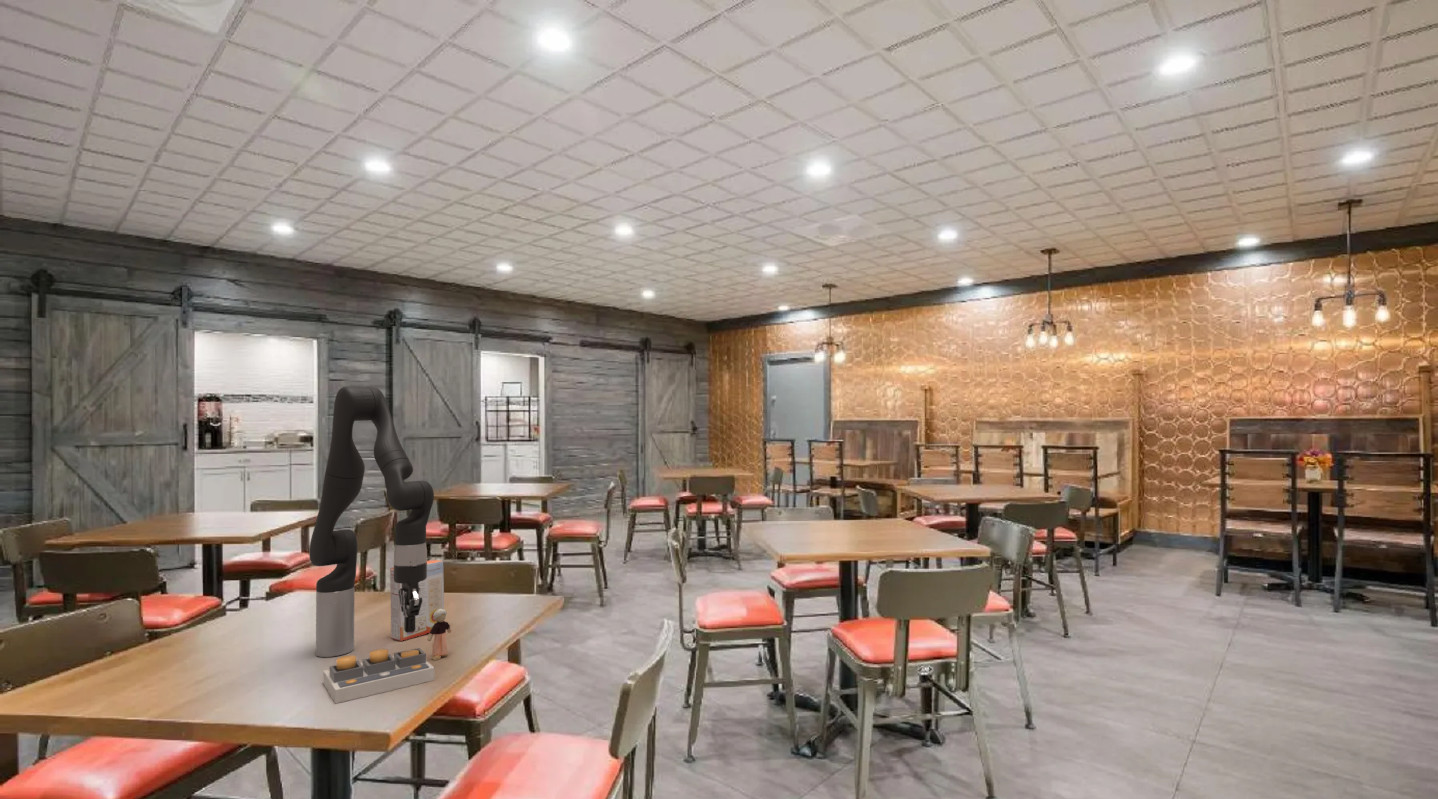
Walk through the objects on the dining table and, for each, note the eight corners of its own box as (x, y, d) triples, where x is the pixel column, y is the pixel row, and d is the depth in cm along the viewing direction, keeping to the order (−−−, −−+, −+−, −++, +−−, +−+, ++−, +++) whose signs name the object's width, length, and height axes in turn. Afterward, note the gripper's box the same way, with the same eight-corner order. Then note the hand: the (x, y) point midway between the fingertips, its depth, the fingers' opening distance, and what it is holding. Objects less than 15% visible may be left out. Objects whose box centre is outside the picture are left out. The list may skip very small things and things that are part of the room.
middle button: (367, 659, 162) (368, 651, 163) (385, 656, 165) (385, 647, 165) (371, 663, 159) (371, 655, 159) (389, 660, 162) (389, 651, 162)
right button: (399, 660, 167) (399, 652, 167) (416, 656, 169) (416, 648, 169) (403, 664, 164) (403, 656, 164) (420, 660, 166) (420, 652, 166)
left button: (335, 666, 158) (335, 657, 158) (354, 662, 161) (354, 654, 161) (338, 671, 155) (338, 662, 155) (357, 666, 157) (357, 658, 158)
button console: (323, 683, 162) (323, 661, 162) (415, 663, 175) (415, 642, 175) (335, 703, 149) (335, 679, 149) (434, 680, 162) (434, 658, 163)
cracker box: (433, 626, 208) (433, 558, 209) (444, 629, 204) (444, 560, 205) (389, 638, 197) (389, 566, 197) (400, 642, 193) (400, 568, 194)
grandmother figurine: (438, 661, 175) (438, 612, 176) (425, 661, 176) (425, 612, 177) (455, 652, 183) (455, 605, 184) (442, 651, 184) (442, 604, 184)
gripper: (387, 559, 170) (386, 628, 170) (401, 567, 160) (400, 641, 160) (418, 555, 175) (418, 622, 175) (434, 563, 165) (433, 635, 164)
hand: (409, 631), depth 167 cm, fingers closed
